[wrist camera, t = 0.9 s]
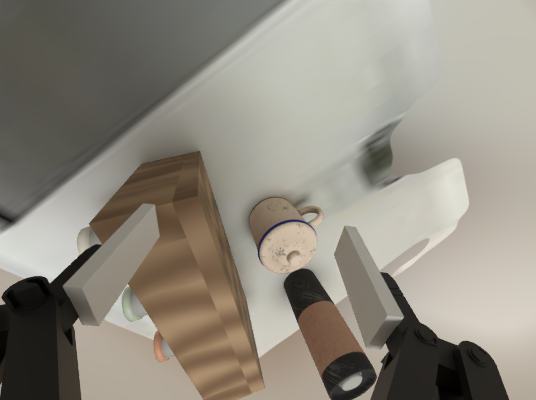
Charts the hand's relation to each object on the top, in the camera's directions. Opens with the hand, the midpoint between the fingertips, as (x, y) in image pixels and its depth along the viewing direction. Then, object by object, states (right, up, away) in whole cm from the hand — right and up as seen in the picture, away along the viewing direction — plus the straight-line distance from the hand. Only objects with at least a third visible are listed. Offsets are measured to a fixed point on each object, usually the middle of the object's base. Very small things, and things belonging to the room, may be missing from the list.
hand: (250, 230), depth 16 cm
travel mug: (+8, -16, +33) cm, 37 cm away
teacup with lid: (+3, 0, +24) cm, 24 cm away
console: (-10, -6, +23) cm, 25 cm away
